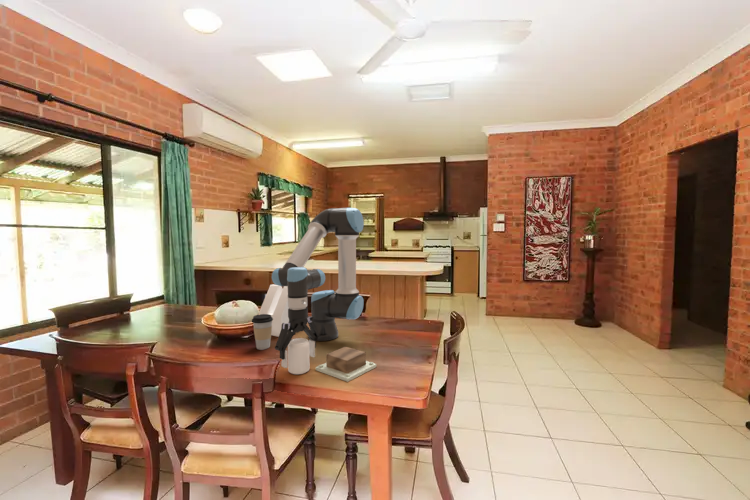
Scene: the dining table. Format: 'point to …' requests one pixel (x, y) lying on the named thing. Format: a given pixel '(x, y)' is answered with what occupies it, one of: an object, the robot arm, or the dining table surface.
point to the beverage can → (298, 356)
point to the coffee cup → (262, 330)
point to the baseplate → (345, 376)
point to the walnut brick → (346, 359)
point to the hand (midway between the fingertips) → (298, 361)
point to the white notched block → (276, 307)
